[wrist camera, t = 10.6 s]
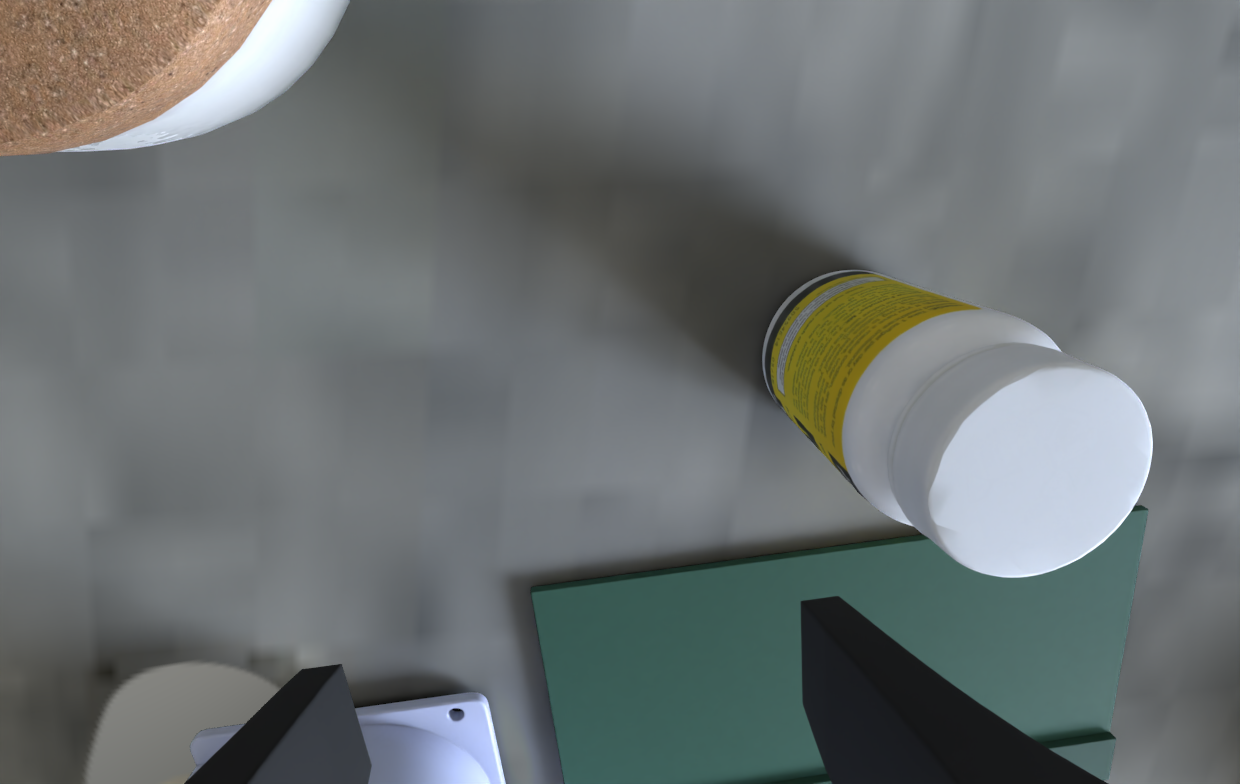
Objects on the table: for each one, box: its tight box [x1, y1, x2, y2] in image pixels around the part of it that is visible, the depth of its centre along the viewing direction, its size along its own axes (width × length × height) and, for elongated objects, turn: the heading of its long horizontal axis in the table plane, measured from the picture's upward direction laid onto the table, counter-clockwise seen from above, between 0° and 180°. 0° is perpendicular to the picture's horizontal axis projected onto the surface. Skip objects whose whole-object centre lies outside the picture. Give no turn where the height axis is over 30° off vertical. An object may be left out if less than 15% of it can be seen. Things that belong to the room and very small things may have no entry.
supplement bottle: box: [762, 270, 1153, 578], centre depth 15 cm, size 5×5×8 cm
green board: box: [531, 505, 1148, 784], centre depth 22 cm, size 20×12×1 cm, turn 96°
